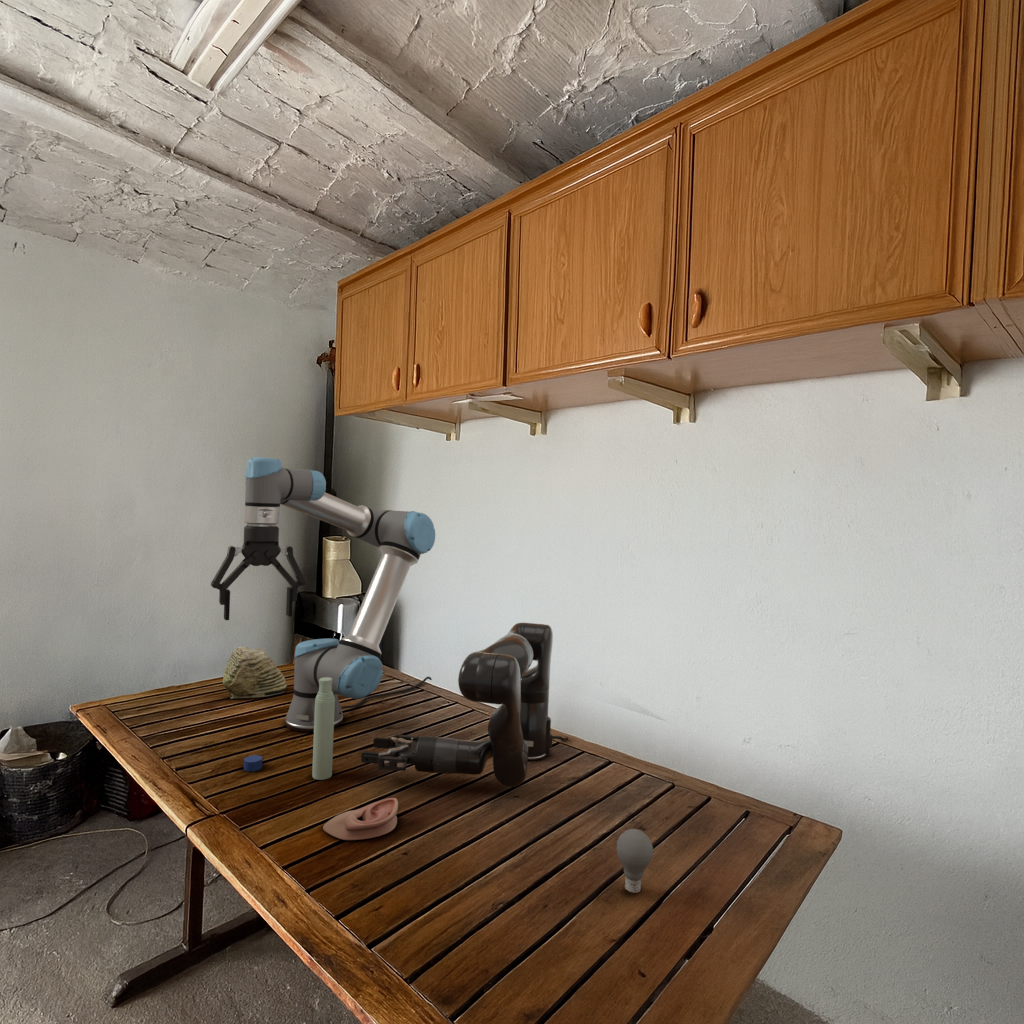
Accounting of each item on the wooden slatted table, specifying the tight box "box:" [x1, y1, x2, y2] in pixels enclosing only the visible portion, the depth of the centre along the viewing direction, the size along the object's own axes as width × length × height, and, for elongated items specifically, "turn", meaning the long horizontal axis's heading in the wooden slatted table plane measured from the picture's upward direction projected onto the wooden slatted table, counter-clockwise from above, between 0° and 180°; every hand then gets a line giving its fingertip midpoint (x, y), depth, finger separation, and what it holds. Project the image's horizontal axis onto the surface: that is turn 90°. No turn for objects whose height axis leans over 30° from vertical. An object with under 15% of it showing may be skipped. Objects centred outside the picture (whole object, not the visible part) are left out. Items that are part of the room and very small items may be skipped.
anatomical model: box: [322, 797, 399, 841], centre depth 122 cm, size 13×4×12 cm
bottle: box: [311, 677, 335, 781], centre depth 144 cm, size 4×4×22 cm
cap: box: [243, 754, 263, 772], centre depth 146 cm, size 4×4×2 cm
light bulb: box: [615, 828, 654, 894], centre depth 106 cm, size 6×6×10 cm
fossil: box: [222, 646, 288, 699], centre depth 198 cm, size 9×18×15 cm, turn 132°
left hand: (258, 617), depth 146 cm, fingers open, 13 cm apart
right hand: (368, 749), depth 143 cm, fingers open, 8 cm apart
